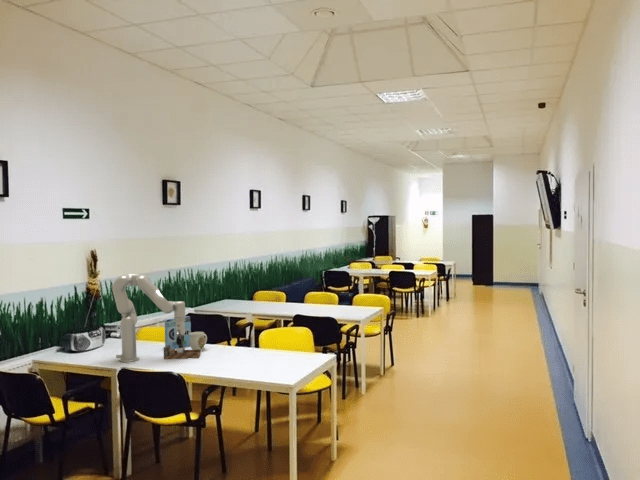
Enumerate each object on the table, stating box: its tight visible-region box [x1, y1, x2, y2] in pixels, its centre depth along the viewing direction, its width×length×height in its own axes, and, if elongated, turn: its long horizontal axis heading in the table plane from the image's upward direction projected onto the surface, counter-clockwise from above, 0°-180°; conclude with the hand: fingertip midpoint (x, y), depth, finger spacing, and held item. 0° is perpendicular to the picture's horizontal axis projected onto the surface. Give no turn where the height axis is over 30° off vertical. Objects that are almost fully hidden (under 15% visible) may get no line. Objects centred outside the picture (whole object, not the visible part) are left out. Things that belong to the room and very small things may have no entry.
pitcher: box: [189, 331, 208, 352], centre depth 410 cm, size 11×18×14 cm, turn 149°
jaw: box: [176, 335, 186, 353], centre depth 390 cm, size 4×7×13 cm, turn 3°
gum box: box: [164, 315, 192, 350], centre depth 420 cm, size 20×5×23 cm, turn 127°
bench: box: [163, 345, 202, 360], centre depth 390 cm, size 24×10×8 cm, turn 93°
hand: (180, 342), depth 390 cm, fingers open, 9 cm apart
